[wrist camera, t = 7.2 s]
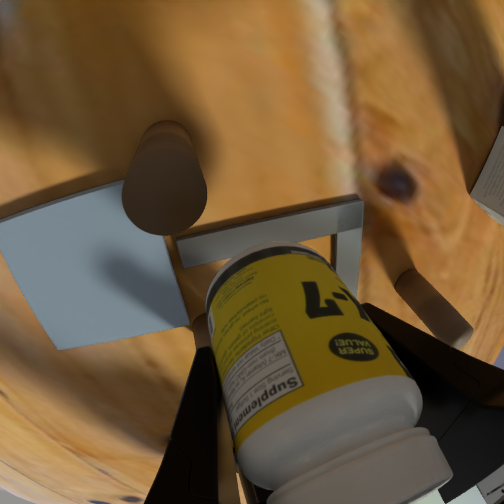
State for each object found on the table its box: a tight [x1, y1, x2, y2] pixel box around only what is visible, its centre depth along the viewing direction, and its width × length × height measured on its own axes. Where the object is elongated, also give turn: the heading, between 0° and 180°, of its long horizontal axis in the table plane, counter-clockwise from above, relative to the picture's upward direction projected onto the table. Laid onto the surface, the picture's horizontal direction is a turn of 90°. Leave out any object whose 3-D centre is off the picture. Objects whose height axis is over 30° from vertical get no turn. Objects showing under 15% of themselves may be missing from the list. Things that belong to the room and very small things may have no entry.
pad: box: [0, 179, 190, 350], centre depth 14 cm, size 8×8×1 cm
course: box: [121, 120, 473, 355], centre depth 14 cm, size 14×15×6 cm
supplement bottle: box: [205, 241, 453, 504], centre depth 8 cm, size 5×5×8 cm
